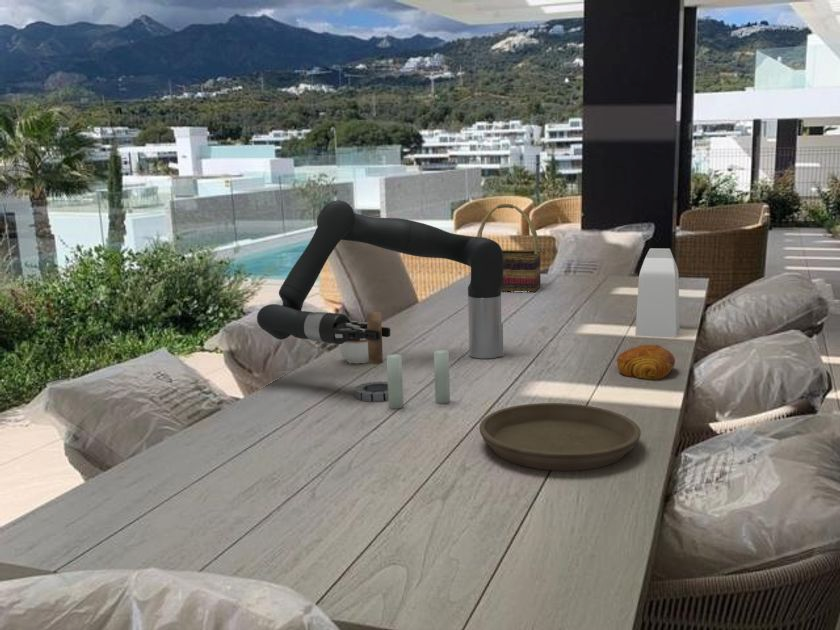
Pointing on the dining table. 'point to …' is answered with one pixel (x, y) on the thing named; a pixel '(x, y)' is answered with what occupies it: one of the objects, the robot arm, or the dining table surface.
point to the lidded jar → (355, 351)
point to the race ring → (366, 393)
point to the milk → (658, 296)
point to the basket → (519, 261)
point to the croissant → (646, 362)
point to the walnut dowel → (374, 345)
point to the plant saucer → (559, 435)
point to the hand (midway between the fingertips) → (384, 334)
